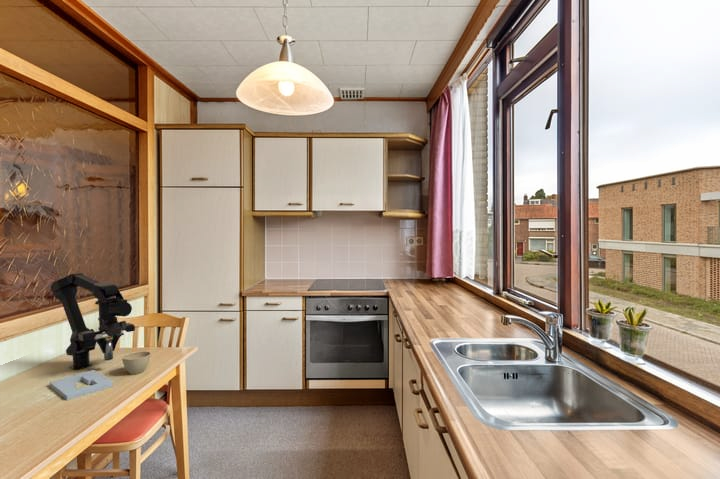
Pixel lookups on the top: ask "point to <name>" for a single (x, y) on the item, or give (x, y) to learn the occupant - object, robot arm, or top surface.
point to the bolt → (108, 347)
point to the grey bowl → (136, 361)
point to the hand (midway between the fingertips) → (108, 352)
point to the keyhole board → (69, 390)
